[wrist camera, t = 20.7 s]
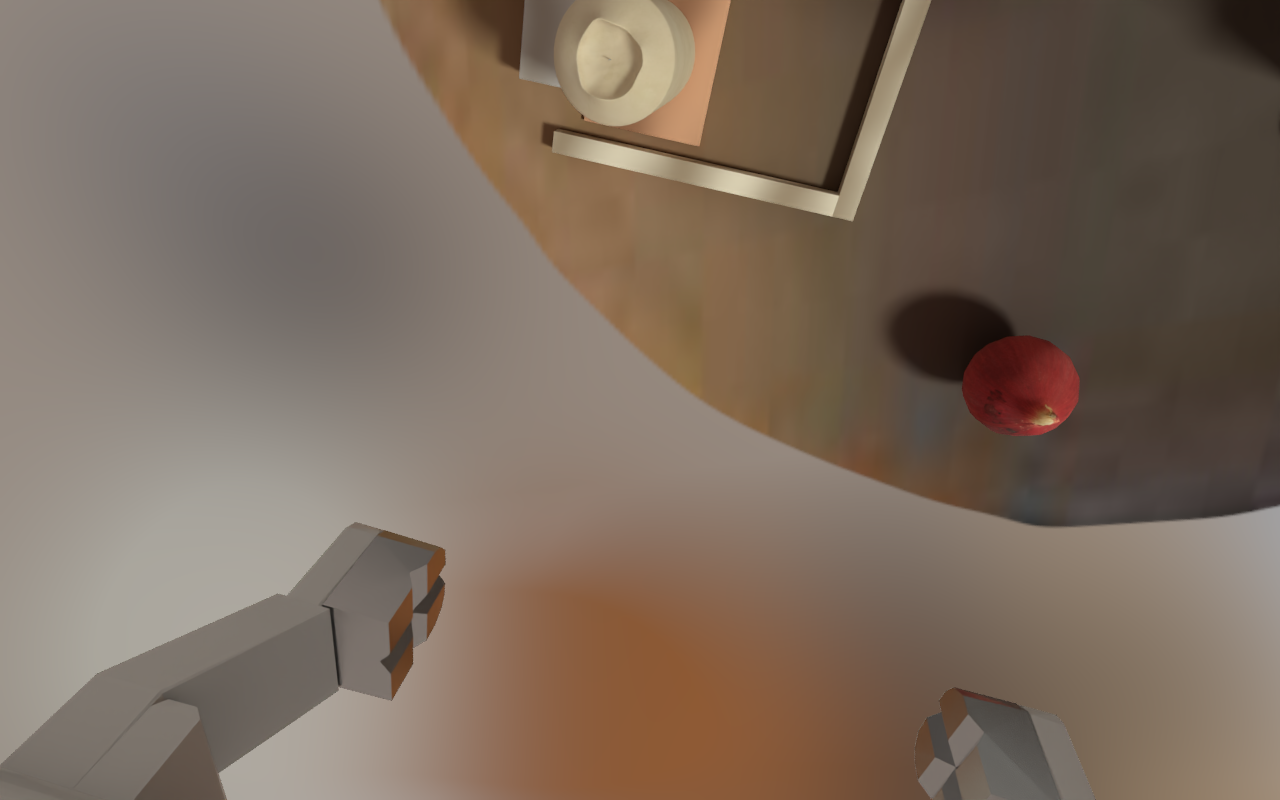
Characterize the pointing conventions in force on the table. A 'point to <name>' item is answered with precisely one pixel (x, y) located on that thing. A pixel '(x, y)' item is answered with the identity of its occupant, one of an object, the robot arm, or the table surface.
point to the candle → (622, 57)
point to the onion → (1020, 386)
